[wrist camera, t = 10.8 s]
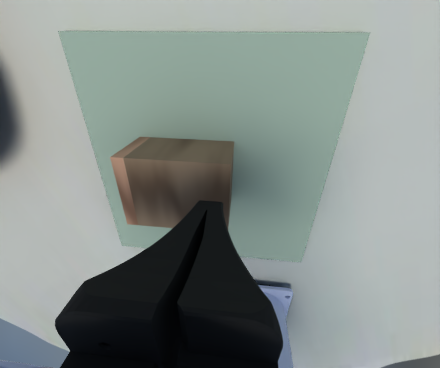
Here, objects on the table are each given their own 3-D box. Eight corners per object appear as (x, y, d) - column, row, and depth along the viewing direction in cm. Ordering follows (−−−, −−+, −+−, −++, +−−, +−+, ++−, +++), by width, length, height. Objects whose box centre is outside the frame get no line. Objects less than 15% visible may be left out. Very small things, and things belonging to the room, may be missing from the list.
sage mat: (299, 257, 21) (301, 262, 20) (124, 241, 22) (121, 245, 22) (364, 33, 12) (370, 32, 11) (65, 32, 13) (58, 31, 13)
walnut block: (227, 232, 14) (127, 224, 15) (231, 199, 18) (149, 193, 18) (230, 164, 12) (109, 157, 12) (234, 141, 15) (140, 136, 16)
